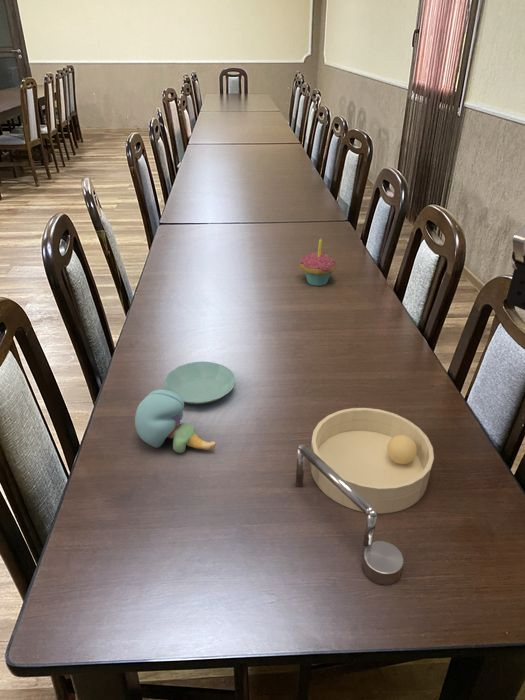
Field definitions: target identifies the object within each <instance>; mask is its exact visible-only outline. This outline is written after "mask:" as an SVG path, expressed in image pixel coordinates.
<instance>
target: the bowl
mask: <svg viewBox="0 0 525 700" xmlns="http://www.w3.org/2000/svg"><path fill="white" fill-rule="evenodd" d="M397 435H405V436H408V437H410V438H411V439H412V440H413V441H414V442H415V444H416V447H417V453H416V456H415V458H414V459H413V460H412V461H411V462H409V463H407V464H398V463H396V462H394V461H393V460H392V459H391V458H390V457H389V455H388V452H387V446H388V443H389V441H390V440H391V439H392V438H393V437H395V436H397ZM310 449H311V450H312V451H313V452H314V453H315V454H316V455H317V456H318V457H320V458H321V459H322V460H323V461H324V462H325V463H326V464H327V465H328V466H329V467H330V468H332V469H333V470H334V471H335V472H336V473H337V474H338V475H339V476H340V477H341V478H342V479H344V480H345V481H346V482H347V483H348V484H349V485H350V486H351V487H352V488H353V489H355V490H356V491H357V492H358V493H359V494H360V495H361V496H362V497H363V498H364V499H365V500H367V501H368V502H369V503H370V504H371V505H372V506H373V507H374V508H375V510H376V511H377V515H378V514H379V515H381V514H393V513H398V512H401V511H403V510H406V509H408V508H410V507H412V506H414V505H415V504H417V503H418V502H419V501H420V500H421V499H422V497H423V496H424V494H425V493H426V491H427V489H428V485H429V481H430V478H431V474H432V470H433V465H434V461H435V455H434V447H433V445H432V443H431V441H430V439H429V437H428V436H427V434H425V432H424V431H423V430H422V429H421V428H420V427H419V426H417V425H416V424H415V423H413V422H412V421H410V420H409V419H407V418H405V417H403V416H400V415H399V414H396V413H395V412H391V411H387V410H383V409H379V408H373V407H350V408H346V409H341V410H338V411H335V412H333V413H331V414H329V415H326V416H325V417H324V418H322V419H321V420H320V421H319V422H318V423H317V425H316V426H315V428H314V430H313V431H312V435H311V442H310ZM309 466H310V468H309V469H310V474H311V476H312V479H313V480H314V482H315V484H316V486H317V487H318V488H319V489H320V490H321V492H323V494H325V496H327V497H328V498H330V499H331V500H332V501H334V502H336V503H338V504H339V505H341V506H343V507H346V508H348V509H350V510H354V511H357V512H361V513H364V512H363V511H362V510H361V509H360V508H359V507H357V506H356V505H355V504H354V503H353V502H352V501H351V500H350V499H349V498H348V497H347V496H346V495H345V494H344V493H343V492H342V491H340V490H339V489H338V488H337V487H336V486H335V485H334V484H333V483H332V482H331V481H330V480H329V479H328V478H327V477H326V476H325V475H323V474H322V473H321V472H320V471H319V470H318V469H317V468H316V467H315V466H314V465H313V464H312V463H311V462H310V461H309Z"/></svg>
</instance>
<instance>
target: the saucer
mask: <svg viewBox="0 0 525 700" xmlns="http://www.w3.org/2000/svg"><path fill="white" fill-rule="evenodd" d="M235 384H236V376H235V374H234V373H233V371H232V370H231V369H230V368H228V367H227V366H225V365H223V364H220V363H217V362H211V361H193V362H188V363H185V364H182V365H180V366H177V367H176V368H174V369H172V370H171V371H170V372H169V373H168V374H167V375H166V376H165V378H164V380H163V388H164V390H169V391H172V392H175V393H177V394H178V395H180V396H181V397H182V399H183V401H184V404H190V405H204V404H205V405H206V404H209V403H213V402H215V401H216V402H217V401H218V400H220V399H221V398H223V397H225V396H226V395H227V394H229V393H230V392H231V391H232V390H233V388H234V386H235Z"/></svg>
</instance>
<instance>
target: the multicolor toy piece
mask: <svg viewBox="0 0 525 700" xmlns="http://www.w3.org/2000/svg"><path fill="white" fill-rule="evenodd" d="M184 409H185V402H184V401H183V399H182V397H181V396H180V395H178V394H177V393H175V392H172V391H169V390H165V389H163V388H161V389H160V388H159V389H155V390H153V391H151V392H149V393H148V395H146V396H145V397H144V398H143V400H141V402H140V403H139V405H138V406H137V408H136V411H135V414H134V426H135V430H136V433H137V435H138V437H139V438H140V439H141V440H142V441H143V442H144V443H146V444H148V446H149V445H150V446H152V447H153V448H160V447H161V446H163V444H164V443H165V440H166V439H167V438H169V439H173V440H172V448H173V450H174V452H176V453H178V454H182V453H183V454H184V452H185V451H186V448H187V447H191V448H194V449H198V450H205V451H213V450H214V449H215V448H216V442H215V441H211V442H209V441H205V440H204V439H202V438H200V437H199V436H198V435H197V434H196V428H195V426H194V425H193V424H190V423H186V422H181V420H183V418H184Z"/></svg>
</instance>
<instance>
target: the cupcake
mask: <svg viewBox="0 0 525 700" xmlns="http://www.w3.org/2000/svg"><path fill="white" fill-rule="evenodd" d="M322 244H323V239H322V236H320V238H319V239H318V248H317V251H313V252H310V253H308V254H306V255H304V256H303V257H302V258H300V262H299V268H300V269H301V270H303V273H304V274H305V277H306V282H307V283H308V284H309V285H311V286H317V287H320V286H321V287H322V286H325V285H326V284H328V283H329V282H328V281H329V279H330V276H331V275H332V274H333V272H334V271H336V269H337V265H336V263H337V261H336V260H335V257H334V258H333V256H331V255H330V254H326V253H325V252H322Z"/></svg>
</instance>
